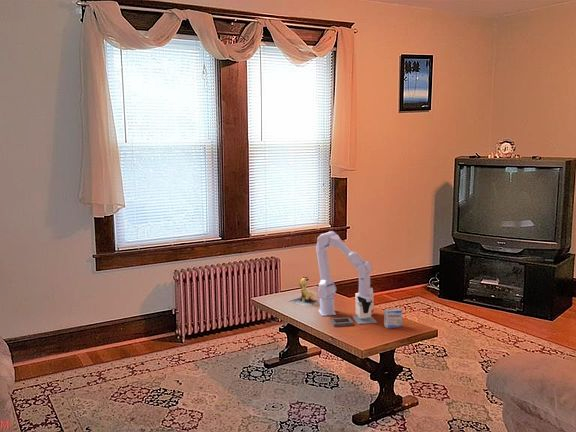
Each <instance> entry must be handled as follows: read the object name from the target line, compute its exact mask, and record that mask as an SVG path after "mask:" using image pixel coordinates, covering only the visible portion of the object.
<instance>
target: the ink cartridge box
mask: <svg viewBox="0 0 576 432" xmlns="http://www.w3.org/2000/svg"><path fill="white" fill-rule="evenodd" d="M370 293H372V296H370V298H371V300H372V302H371V316H373V315H374V314H375V313H374V311H375V309H374V308H375V307H374V306H375V305H374V301H375V299H374V289H373V287H370ZM354 294H355V296H354V297H355V300H354V301H355V316H358V315H357V302H359V300H358V298H357V297H358V294H359V292H356V293H354Z"/></svg>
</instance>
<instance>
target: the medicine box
mask: <svg viewBox="0 0 576 432" xmlns="http://www.w3.org/2000/svg"><path fill="white" fill-rule="evenodd" d="M383 319H384V320H383V326H384V327H385V328H386V329H397V328H402V327H403V310H402V309H401V308H399V307H398V308H396V307H395V308H387V309H383Z"/></svg>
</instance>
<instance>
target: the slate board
mask: <svg viewBox="0 0 576 432" xmlns="http://www.w3.org/2000/svg"><path fill="white" fill-rule="evenodd" d="M352 318H353V320H354V321H355V322H356V323H357V325H370V324H377V323H378V321H377V320H375V317H373V315H371V317H365V318H359V317H358V315H354V316H352Z"/></svg>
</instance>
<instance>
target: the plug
mask: <svg viewBox="0 0 576 432" xmlns="http://www.w3.org/2000/svg"><path fill="white" fill-rule="evenodd" d="M356 316H358V317H359V318H365V317H371V316H372V315H371V304H370V306H369V311H368V313H364V312H363V306H362V303H361V302H357V315H356Z"/></svg>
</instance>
